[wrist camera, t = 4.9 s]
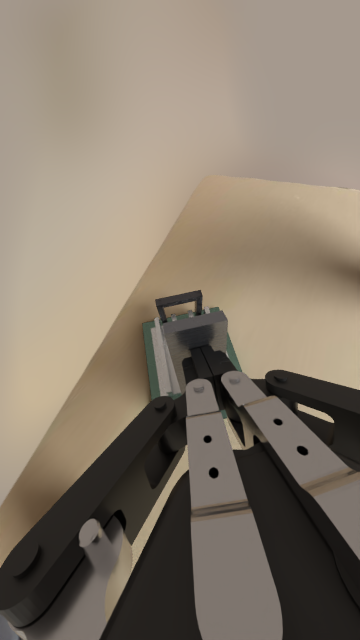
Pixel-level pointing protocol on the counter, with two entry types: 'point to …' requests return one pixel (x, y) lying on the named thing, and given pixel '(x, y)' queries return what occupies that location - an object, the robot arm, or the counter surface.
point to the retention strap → (194, 338)
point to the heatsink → (157, 349)
